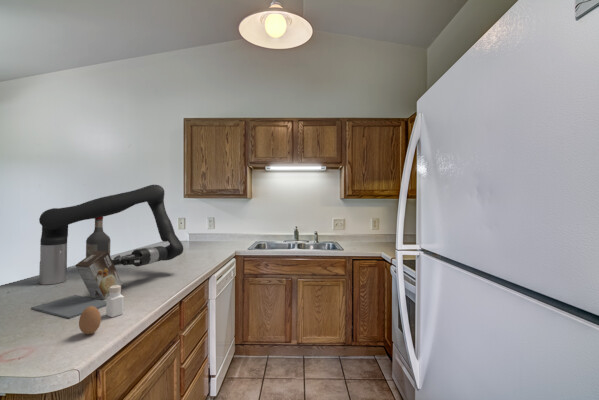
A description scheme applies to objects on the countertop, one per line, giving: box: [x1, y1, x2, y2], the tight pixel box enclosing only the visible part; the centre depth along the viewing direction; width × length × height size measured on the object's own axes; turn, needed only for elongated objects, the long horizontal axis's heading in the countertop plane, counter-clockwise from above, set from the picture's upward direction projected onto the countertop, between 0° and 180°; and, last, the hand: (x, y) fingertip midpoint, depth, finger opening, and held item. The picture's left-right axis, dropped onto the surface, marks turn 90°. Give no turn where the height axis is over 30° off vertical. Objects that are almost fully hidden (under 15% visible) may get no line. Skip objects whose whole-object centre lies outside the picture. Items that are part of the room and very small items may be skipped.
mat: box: [30, 294, 106, 320], centre depth 102 cm, size 20×14×1 cm
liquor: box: [85, 217, 111, 258], centre depth 151 cm, size 9×9×30 cm
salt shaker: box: [105, 285, 125, 318], centre depth 96 cm, size 4×4×10 cm
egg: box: [78, 306, 102, 335], centre depth 83 cm, size 5×5×8 cm
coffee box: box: [75, 251, 123, 300], centre depth 111 cm, size 9×6×16 cm
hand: (108, 263), depth 114 cm, fingers closed
